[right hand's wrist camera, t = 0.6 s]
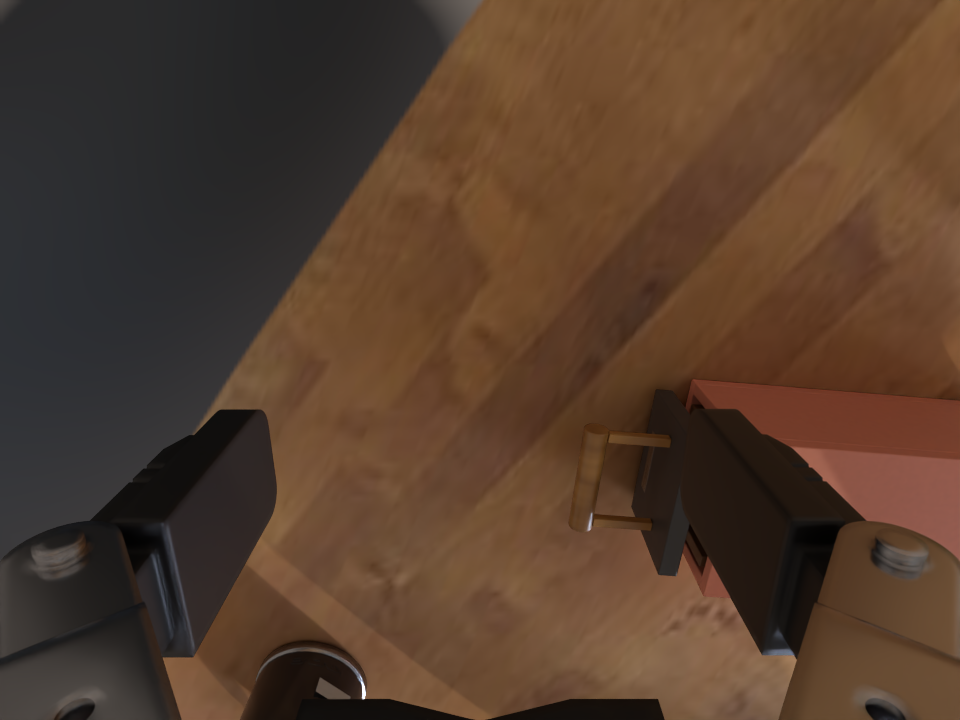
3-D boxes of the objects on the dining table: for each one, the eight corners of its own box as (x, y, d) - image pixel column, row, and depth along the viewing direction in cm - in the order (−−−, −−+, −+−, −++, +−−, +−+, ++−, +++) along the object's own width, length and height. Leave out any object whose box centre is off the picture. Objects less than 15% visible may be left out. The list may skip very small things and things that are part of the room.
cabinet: (661, 508, 45) (703, 596, 37) (691, 378, 41) (746, 442, 33) (922, 528, 46) (1024, 619, 37) (976, 401, 42) (1103, 470, 33)
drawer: (558, 501, 44) (572, 569, 37) (576, 382, 40) (595, 433, 34) (884, 525, 44) (957, 597, 38) (929, 410, 41) (1019, 466, 34)
